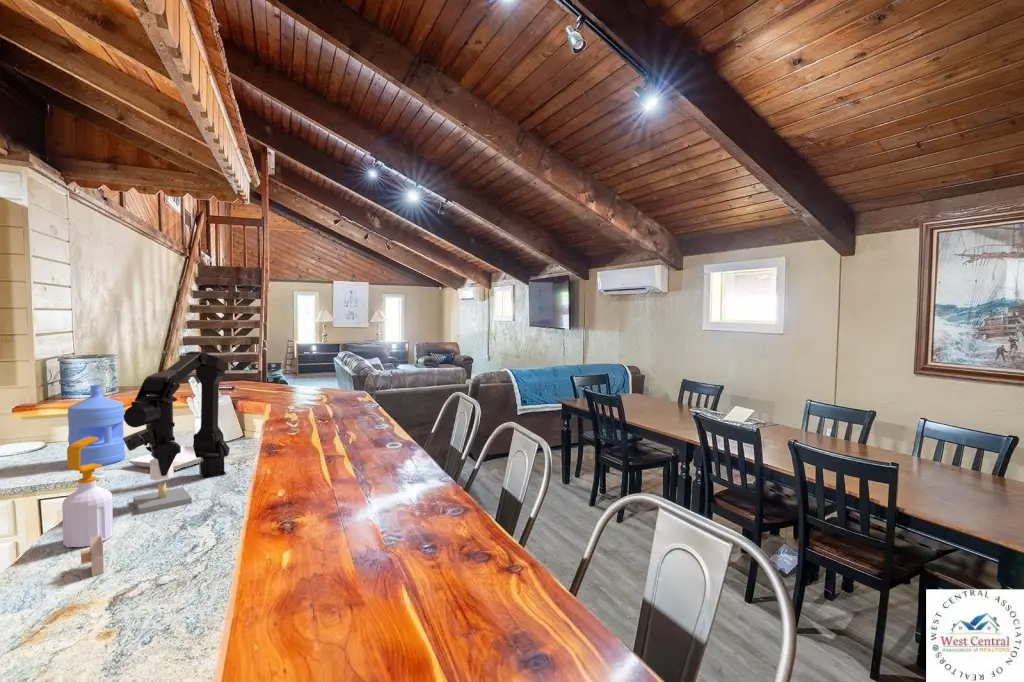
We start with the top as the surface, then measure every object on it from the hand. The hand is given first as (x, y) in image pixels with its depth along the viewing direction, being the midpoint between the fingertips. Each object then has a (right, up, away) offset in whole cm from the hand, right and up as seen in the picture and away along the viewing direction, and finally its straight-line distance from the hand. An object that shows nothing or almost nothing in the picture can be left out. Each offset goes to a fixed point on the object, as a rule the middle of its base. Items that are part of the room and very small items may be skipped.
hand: (162, 473), depth 141 cm
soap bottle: (0, -10, -24) cm, 26 cm away
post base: (0, -8, 0) cm, 8 cm away
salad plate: (-21, -7, +38) cm, 44 cm away
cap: (0, -1, 0) cm, 1 cm away
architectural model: (+13, -11, -37) cm, 41 cm away
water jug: (-50, -6, +38) cm, 63 cm away
